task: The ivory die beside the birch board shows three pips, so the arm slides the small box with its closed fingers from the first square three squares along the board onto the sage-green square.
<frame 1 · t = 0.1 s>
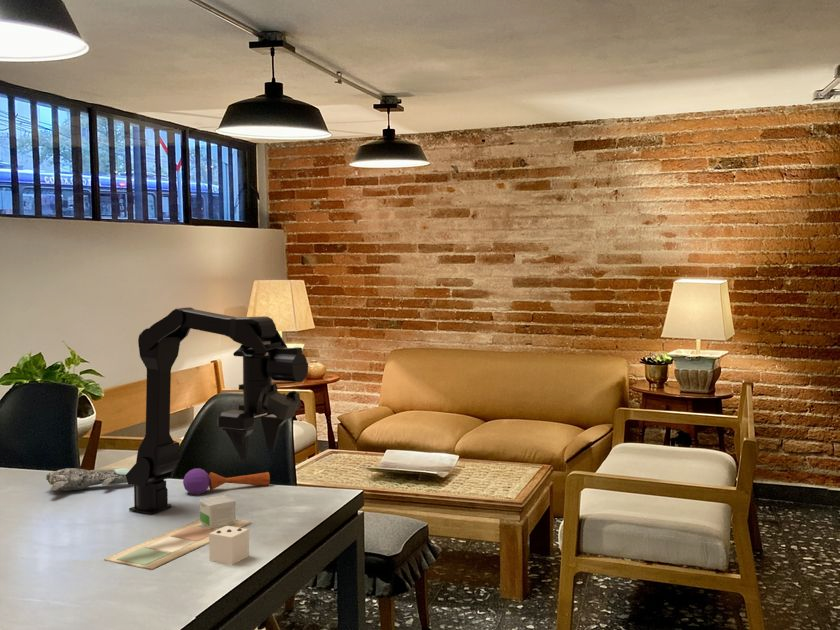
hand: (257, 455, 166), 15 cm above the table, tool pointing down, fingers open, 9 cm apart
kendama: (227, 491, 194), on the table
game board: (183, 540, 158), on the table
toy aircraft: (92, 490, 194), on the table
die: (229, 558, 149), on the table
small box: (217, 524, 168), resting on game board
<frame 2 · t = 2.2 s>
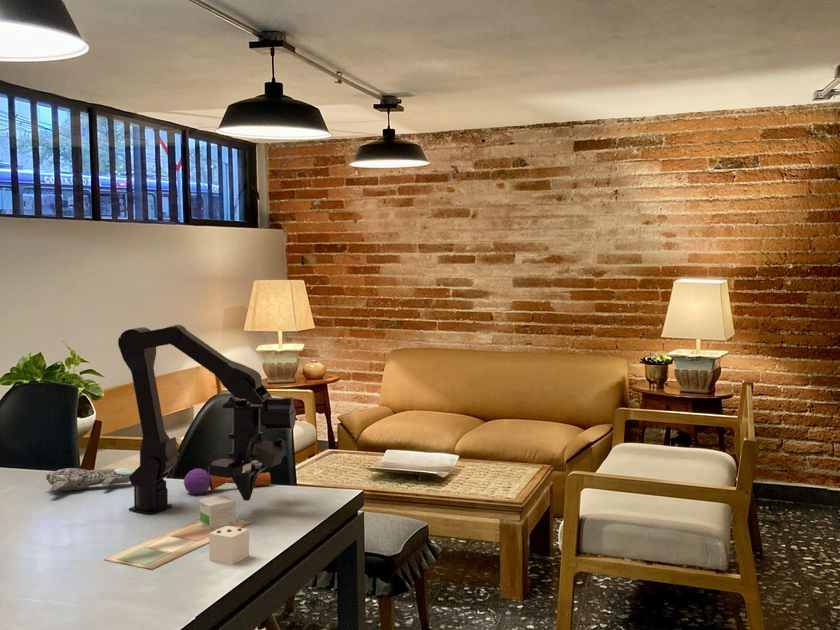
hand: (246, 500, 177), 2 cm above the table, tool pointing down, fingers closed
nothing on the table moved.
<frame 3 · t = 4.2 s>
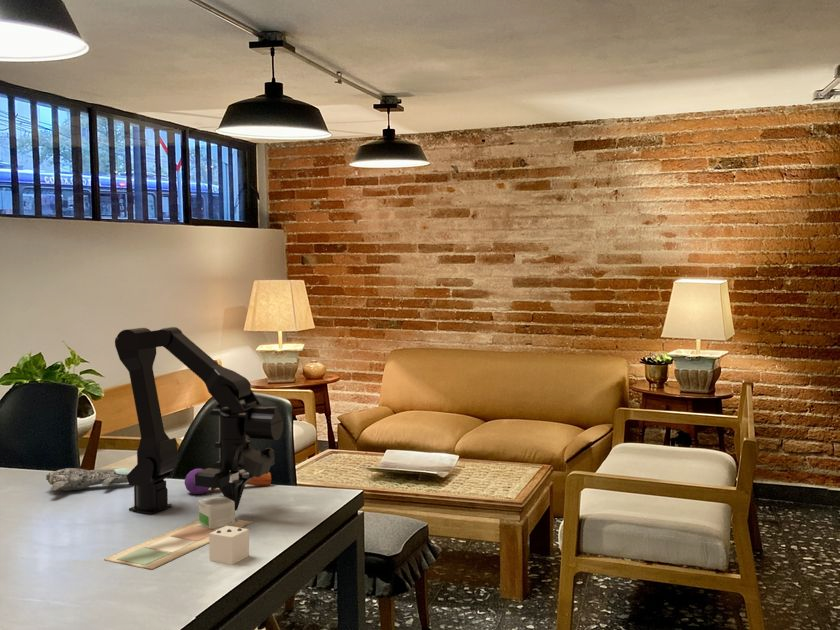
hand: (234, 510, 173), 2 cm above the table, tool pointing down, fingers closed
small box: (216, 524, 167), resting on game board, touching gripper
everything else where it was.
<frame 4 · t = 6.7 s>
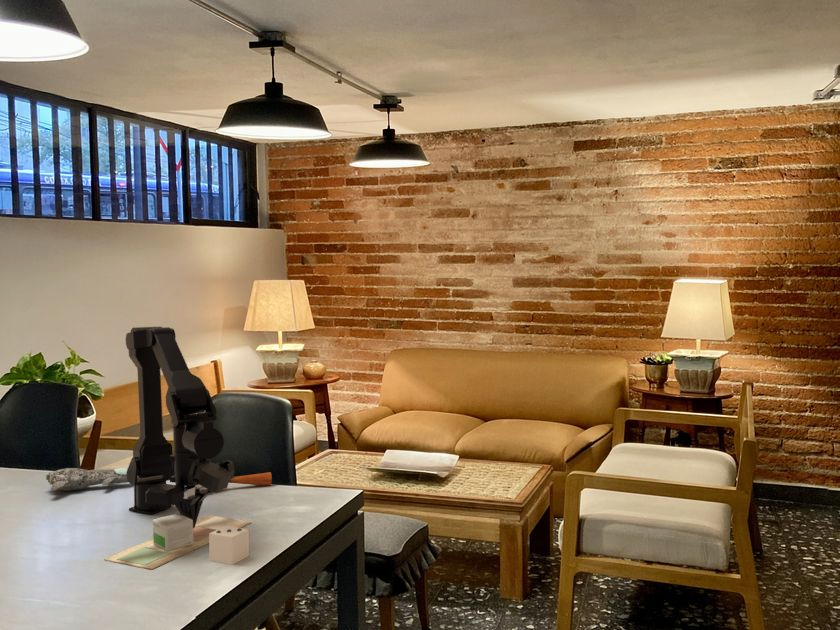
hand: (191, 528, 160), 2 cm above the table, tool pointing down, fingers closed
small box: (173, 545, 155), resting on game board, touching gripper
everything else where it was.
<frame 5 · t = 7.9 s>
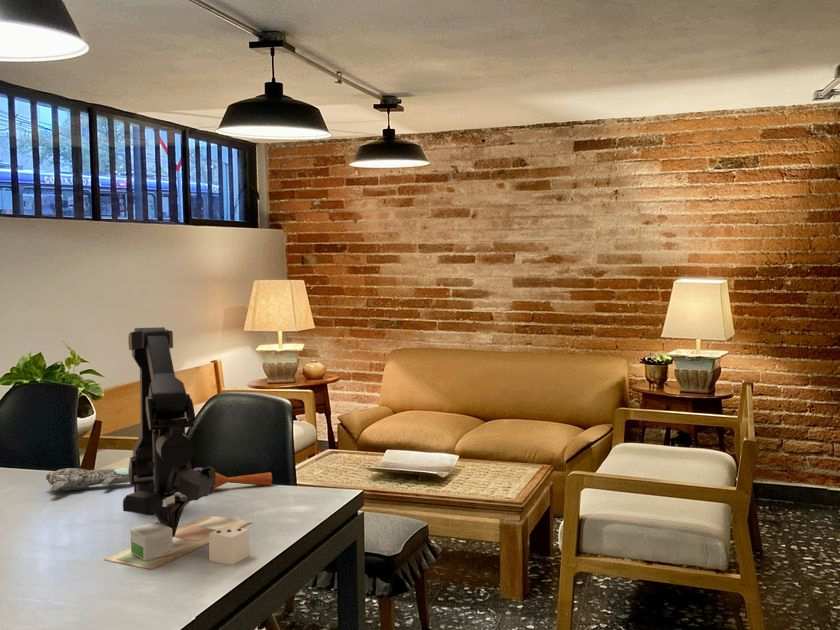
hand: (171, 537, 155), 2 cm above the table, tool pointing down, fingers closed
small box: (151, 555, 150), resting on game board, touching gripper
everything else where it was.
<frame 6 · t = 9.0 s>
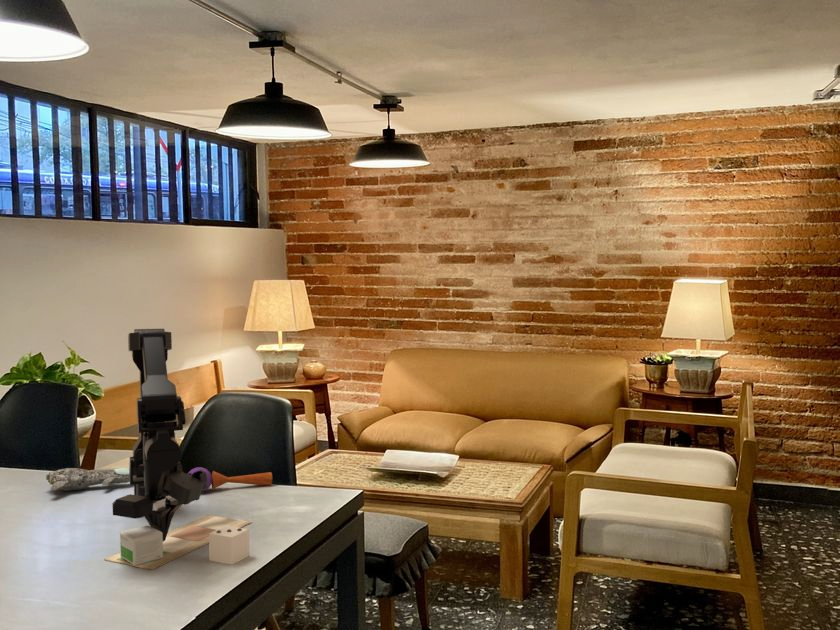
hand: (161, 541, 153), 2 cm above the table, tool pointing down, fingers closed
small box: (141, 559, 147), resting on game board, touching gripper
everything else where it was.
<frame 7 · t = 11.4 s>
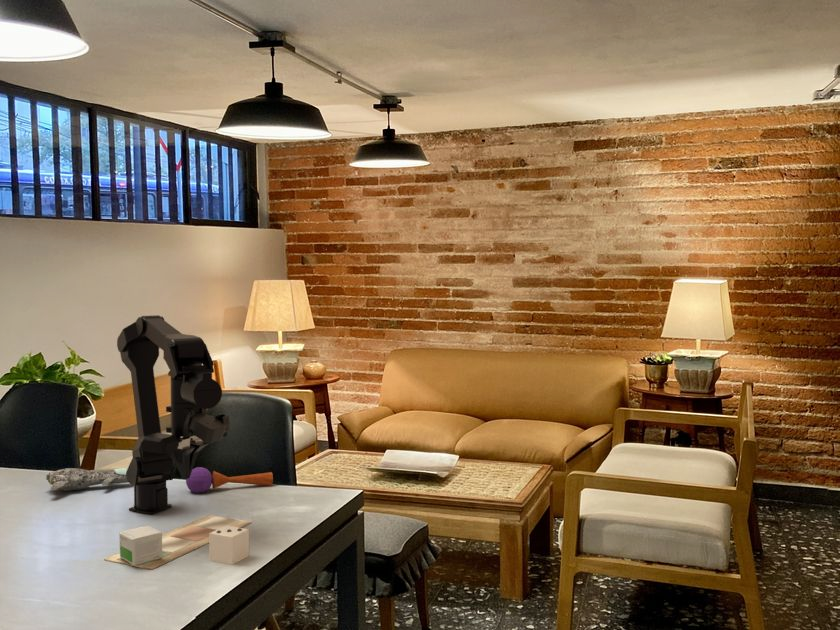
hand: (186, 478, 163), 11 cm above the table, tool pointing down, fingers closed
small box: (141, 559, 147), resting on game board
everything else where it was.
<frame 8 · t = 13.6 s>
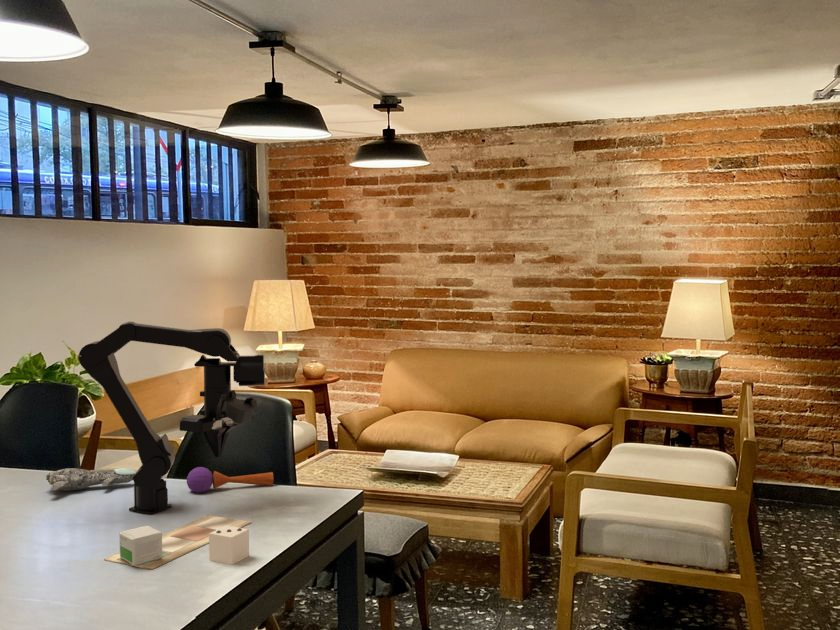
hand: (218, 457, 180), 11 cm above the table, tool pointing down, fingers closed
at the end: small box inside the target area (1.3 cm from its centre), resting on game board; small box tilted 0°; die moved 0.1 cm from its start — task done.
